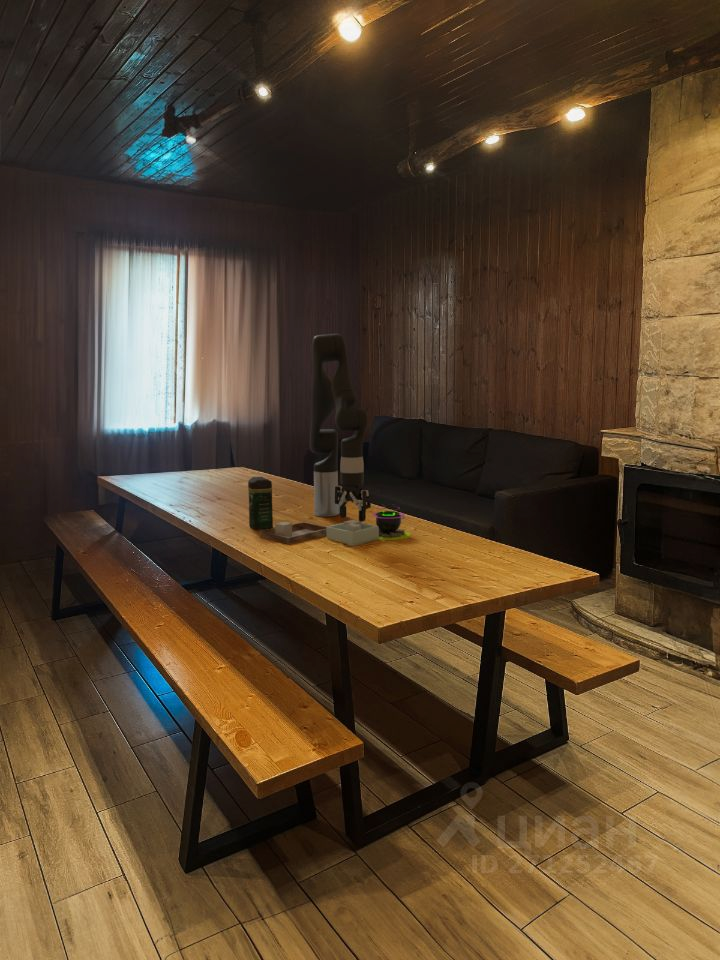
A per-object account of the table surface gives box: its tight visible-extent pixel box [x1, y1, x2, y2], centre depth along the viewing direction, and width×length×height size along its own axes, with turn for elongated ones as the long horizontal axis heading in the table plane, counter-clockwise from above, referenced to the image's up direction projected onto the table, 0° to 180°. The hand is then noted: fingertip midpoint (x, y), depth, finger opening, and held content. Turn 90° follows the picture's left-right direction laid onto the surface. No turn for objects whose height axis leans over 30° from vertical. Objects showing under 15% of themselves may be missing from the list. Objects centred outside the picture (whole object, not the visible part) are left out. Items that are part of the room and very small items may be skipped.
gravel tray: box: [259, 521, 327, 545], centre depth 239 cm, size 19×14×3 cm
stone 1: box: [274, 521, 293, 537], centre depth 235 cm, size 4×4×5 cm
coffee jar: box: [247, 476, 274, 531], centre depth 251 cm, size 10×8×19 cm
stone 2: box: [343, 519, 362, 525], centre depth 237 cm, size 4×4×5 cm
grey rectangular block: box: [344, 523, 361, 532], centre depth 232 cm, size 4×4×5 cm
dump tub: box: [326, 522, 380, 547], centre depth 235 cm, size 12×12×5 cm
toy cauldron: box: [371, 506, 411, 541], centre depth 241 cm, size 15×15×11 cm
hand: (352, 519), depth 231 cm, fingers open, 8 cm apart
